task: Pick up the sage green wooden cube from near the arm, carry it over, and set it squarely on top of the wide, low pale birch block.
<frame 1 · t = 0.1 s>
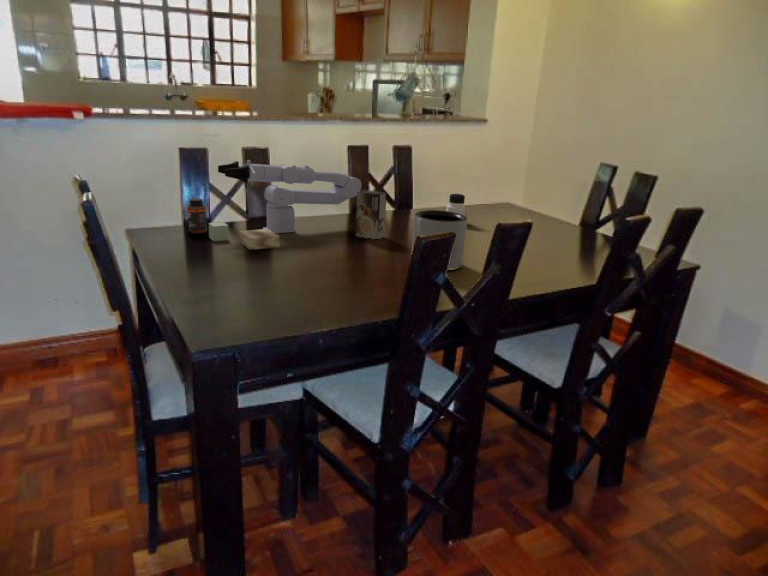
hand: (221, 170, 184), 22 cm above the table, tool horizontal, fingers open, 7 cm apart
birch base: (259, 245, 183), on the table
medicine bottle: (454, 223, 231), on the table
coffee box: (369, 237, 201), on the table
sage cube: (218, 238, 187), on the table
planter: (436, 265, 173), on the table
supplement bottle: (198, 232, 193), on the table
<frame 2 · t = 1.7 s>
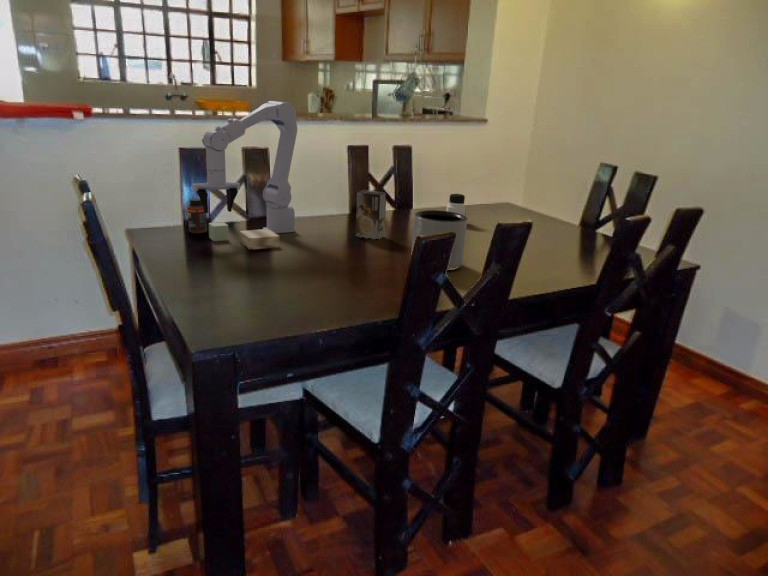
hand: (217, 211, 184), 9 cm above the table, tool pointing down, fingers open, 7 cm apart
nothing on the table moved.
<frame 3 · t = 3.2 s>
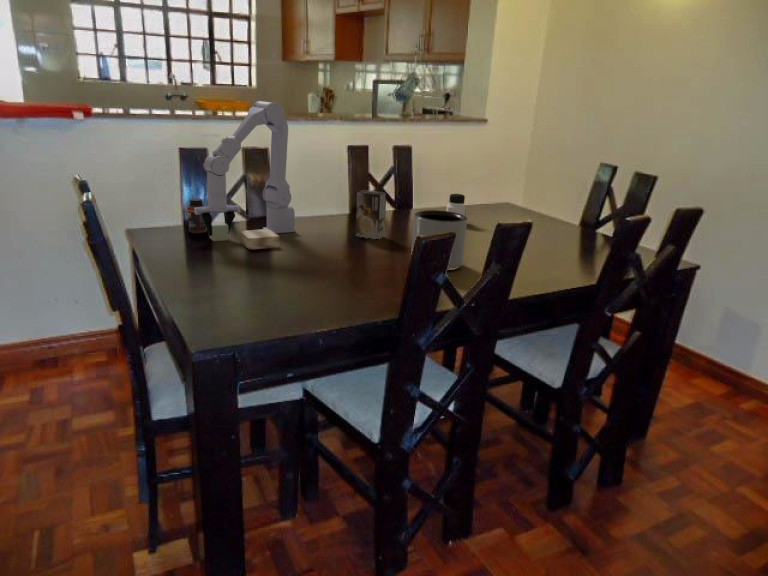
hand: (218, 234, 186), 1 cm above the table, tool pointing down, fingers closed on sage cube, 5 cm apart
sage cube: (218, 238, 187), on the table, touching gripper
everything else where it was.
when the fingers open (7 cm above the table, at t = 6.8 s): sage cube drops 2 cm, resting on birch base.
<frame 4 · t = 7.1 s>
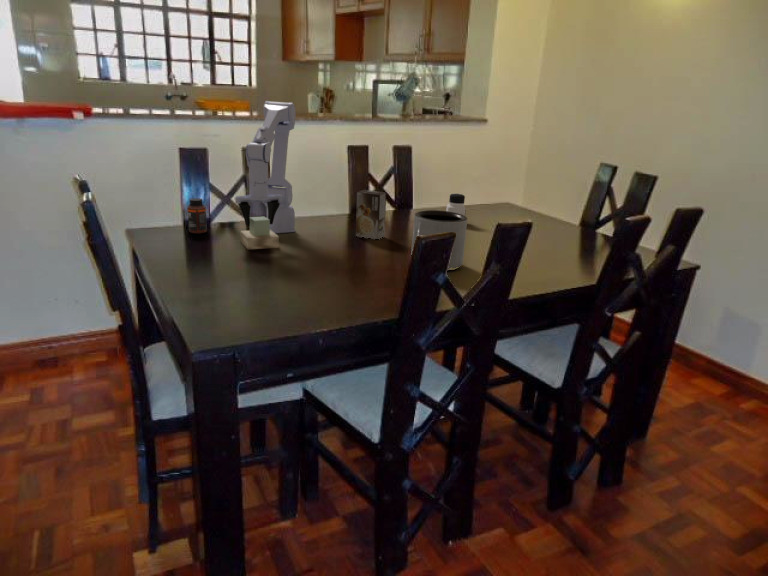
hand: (259, 224, 181), 7 cm above the table, tool pointing down, fingers open, 7 cm apart
birch base: (259, 245, 183), on the table, touching sage cube
sage cube: (259, 233, 182), point 4 cm above the table, touching birch base
everything else where it was.
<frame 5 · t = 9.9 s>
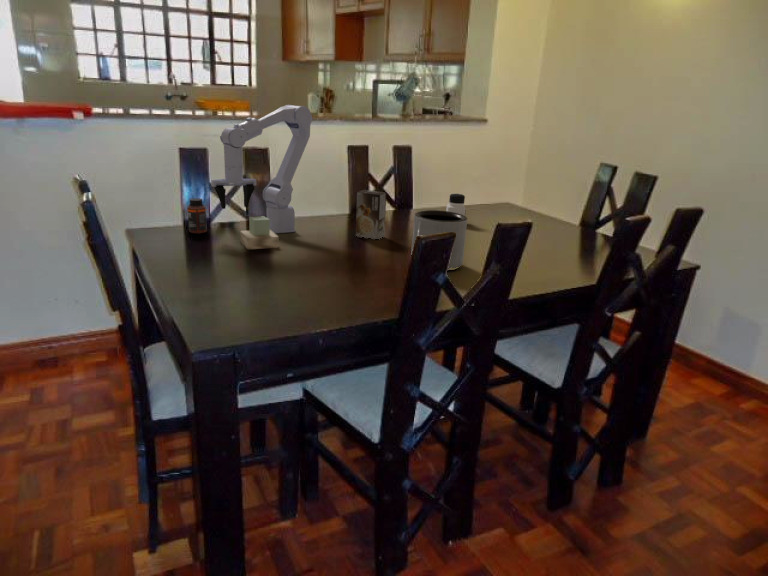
hand: (234, 207, 187), 10 cm above the table, tool pointing down, fingers open, 7 cm apart
birch base: (259, 245, 183), on the table
sage cube: (259, 233, 182), point 4 cm above the table
everything else where it was.
at the end: sage cube 0.4 cm off-centre on the birch base, point 4.0 cm above the birch base's base; sage cube tilted 0°; the gripper is holding nothing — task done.
